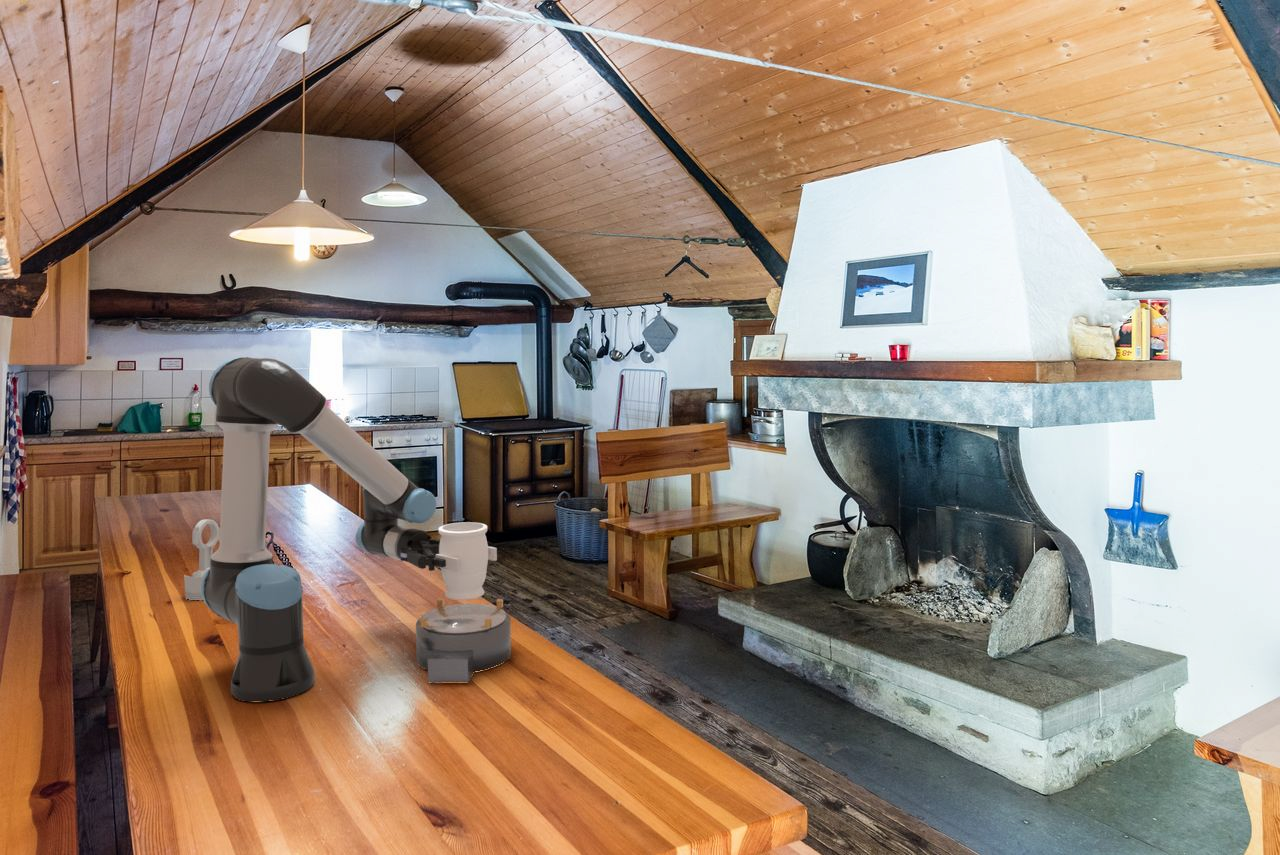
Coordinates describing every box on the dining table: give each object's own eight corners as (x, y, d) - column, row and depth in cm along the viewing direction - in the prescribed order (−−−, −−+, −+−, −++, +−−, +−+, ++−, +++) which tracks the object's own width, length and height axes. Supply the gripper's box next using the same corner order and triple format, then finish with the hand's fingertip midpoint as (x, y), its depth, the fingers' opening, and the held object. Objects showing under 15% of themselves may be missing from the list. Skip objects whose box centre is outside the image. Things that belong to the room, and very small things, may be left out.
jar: (435, 591, 184) (433, 524, 182) (482, 585, 188) (480, 519, 186) (446, 605, 174) (444, 534, 172) (494, 598, 178) (493, 529, 177)
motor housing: (498, 683, 168) (497, 632, 166) (398, 683, 168) (396, 631, 167) (517, 640, 192) (517, 595, 191) (430, 639, 192) (429, 594, 191)
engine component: (176, 599, 222) (209, 602, 220) (172, 523, 220) (206, 525, 218) (205, 588, 232) (237, 590, 230) (201, 515, 230) (234, 516, 228)
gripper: (447, 550, 200) (515, 565, 187) (367, 572, 182) (436, 589, 169) (446, 519, 199) (514, 532, 186) (366, 538, 181) (435, 553, 168)
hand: (477, 559), depth 178 cm, fingers closed on jar, 10 cm apart
